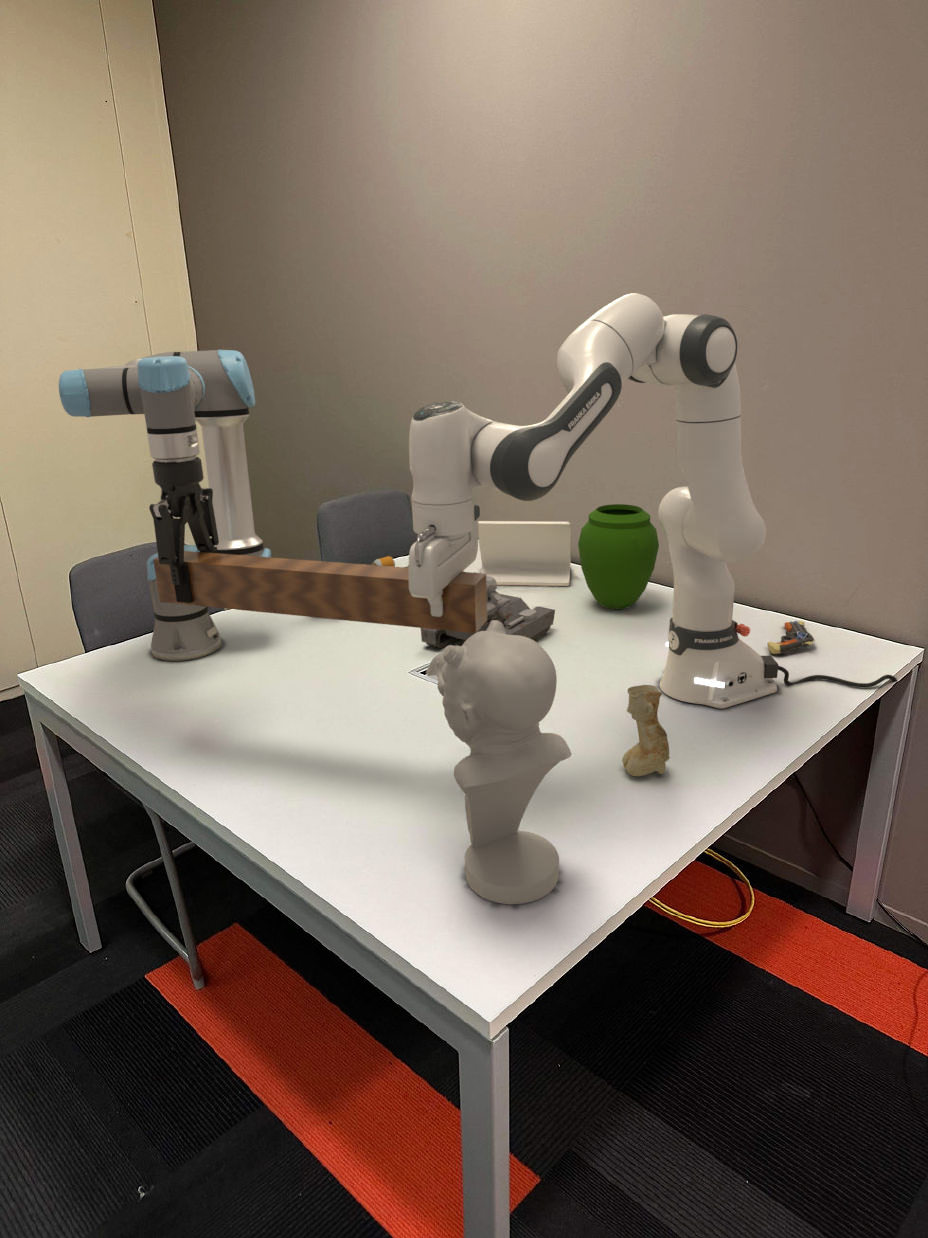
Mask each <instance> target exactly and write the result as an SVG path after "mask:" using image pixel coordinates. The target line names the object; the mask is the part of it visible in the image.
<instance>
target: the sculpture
mask: <svg viewBox="0 0 928 1238" xmlns="http://www.w3.org/2000/svg"><path fill="white" fill-rule="evenodd" d="M626 692H627V694H628V705H627V708H626V712H627V713H628V714H630V715H631V719H632V720H634V721H635V722H636V726H637V727H636V728H637V735H638V742H637V743H636V744H635V745H633V746H632V747H631V748H629V749H628V750H627V751H626V752H625V753H624V754H623V756H622V766H623V767H624V768H625V770H626V772H627V774H629V775H630V776H633V777H644V776H647V775H649V774H651V773H654V772H656V773H657V774H659V775H661V774H664V773H665V771H666V763H667V762H668V761H669V760H670V759H671V757H670V746H669V739H668V734H667V731H666V730H665V728H664V726H662V724H661V722H660V721H659V717H658V711H659V706H660V702H661V701H660V700H661V697H662V695H663V693H662V692H663V691H660V690H659V689H658V687H657V686H656V685H651V684H642V685H634V686H630V687H628V688H627V691H626Z"/></svg>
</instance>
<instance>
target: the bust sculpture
mask: <svg viewBox="0 0 928 1238" xmlns="http://www.w3.org/2000/svg"><path fill="white" fill-rule="evenodd" d="M425 674H426V675H427V676H436V678H437V690H438V692H439V695H441V696H442V700H441V701H442V706H443V709H444V717H445V719H446V721H447V724H448V727H449V728H450V730H452V732H453V734H454V736H455V737H457V738H458V739H459V740H460V741H461V742H462V743H465V744H466V745H467V746H468V747H469V749H470V750H469V751H470V752H469V755H467V756H465V757H464V758H462V759H461V760H460V761H459V762H458V763H457V764H456V765H455V766H454V769H453V777H454V778H453V779H454V780H455V782H456V784H457V785H458V787H459V788H460V790H461V791H462V793H463V794H464V808H465V816H466V817H465V819H466V824H467V825H466V826H467V830H468V833H469V842H470V844H469V846H468V847H467V848H466V851H465V852H464V853H465V854H464V876H465V881H466V884H467V885H468V886H469V888H470V889H471V890H472V891H473V892H474V893H476V894H477V895H478V896H480V897H481V898H483V899H486V900H488V901H490V902H494V903H498V904H506V905H521V904H527V903H531V902H535V901H538V900H540V899H542V898H544V897H546V896H547V895H548V894H550V893H551V892H552V891H553V890H554V889H555V887H556V886H557V884H558V882H559V878H560V855H559V853H558V850H557V848H556V847H555V846H554V845H553V844H552V843H551V841H550V840H548V839H547V838H545V837H543V836H541V835H539V834H536V833H534V832H530V831H525V830H520V829H519V828H520V824H521V822H522V819H523V817H524V815H525V812H526V809H528V805H529V803H530V802H531V800H532V798H533V796H534V794H535V792H536V791H537V789H538V788H539V785H540V784H541V782H542V781H543V780H544V778H545V777H546V775H547V774H548V773H550V771H551V770H552V769H554V768H555V766H557V765H558V764H560V762H562V761H564V760H567V759H569V758H571V756H572V755H573V754H572V752H571V749H570V747H569V745H568V743H567V742H566V740H565V739H564V737H563V736H561V735H560V734H557V733H554V732H541V729H540V723H541V722H542V721H543V720H544V719H545V718H546V716H547V715H548V714H549V712H550V711H551V709H552V706H553V704H554V701H555V697H556V691H557V683H558V682H557V676H558V675H557V670H556V667H555V664H554V661H553V660H552V658H551V656H550V655H549V653H548V652H547V651H546V650H545V649H544V648H543V647H542V645H540V644H539V643H538V642H537V641H535V640H532V639H530V638H527V637H524V636H518V635H506V630H505V629H504V626H503V624H502V623H501V622H500V621H497V620H492V621H491V622H490V625H489V627H488V628H487V630H486V631H480V632H477V633H475V634H474V635H472V636H471V637H469V638H468V639H467V640H464V642H463V644H462V645H452V644H448V645H446V646H445V647H444V650H443V652H441V653H439V654H436V655H435V656H434V657H433V658H432V659H431V661H430V664H429V666H428V667H427V669H426V671H425Z"/></svg>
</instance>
